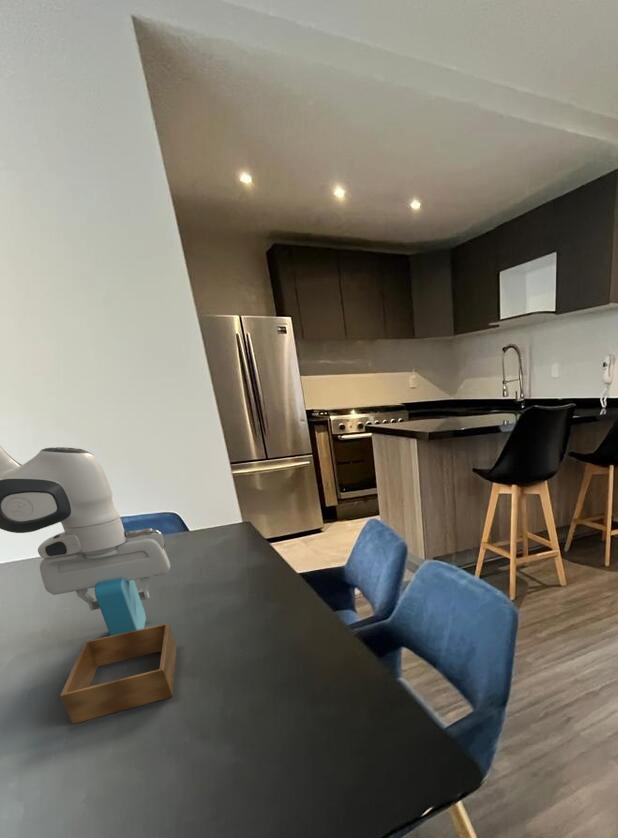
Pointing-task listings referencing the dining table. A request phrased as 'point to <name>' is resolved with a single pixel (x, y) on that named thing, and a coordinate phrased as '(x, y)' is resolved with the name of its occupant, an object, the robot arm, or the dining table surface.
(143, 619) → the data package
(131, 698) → the wooden box
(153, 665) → the dining table surface
